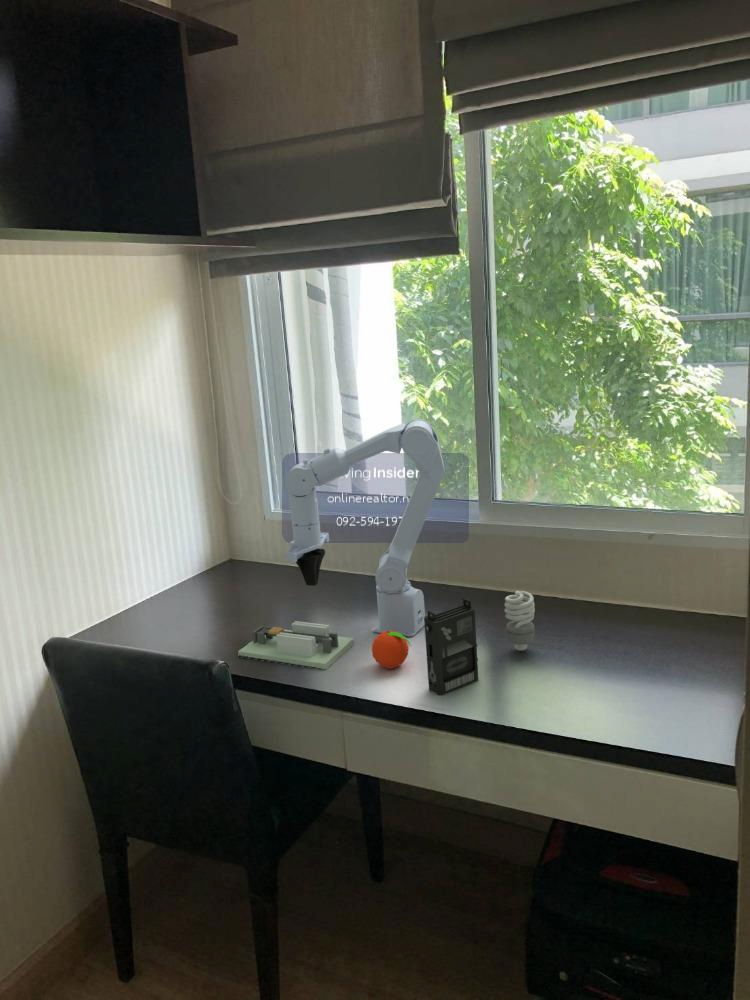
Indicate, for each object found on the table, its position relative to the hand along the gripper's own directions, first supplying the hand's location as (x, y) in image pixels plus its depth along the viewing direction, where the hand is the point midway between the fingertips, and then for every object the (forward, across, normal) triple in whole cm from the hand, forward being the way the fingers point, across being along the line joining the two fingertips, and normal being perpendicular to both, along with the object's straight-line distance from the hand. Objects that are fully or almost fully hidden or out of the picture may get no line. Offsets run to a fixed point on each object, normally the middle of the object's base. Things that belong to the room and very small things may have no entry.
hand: (312, 584), depth 169 cm
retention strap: (+8, +10, +1) cm, 13 cm away
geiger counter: (+11, +14, +36) cm, 40 cm away
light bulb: (+11, -2, +44) cm, 45 cm away
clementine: (+11, +11, +23) cm, 28 cm away
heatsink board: (+10, +10, +1) cm, 14 cm away
